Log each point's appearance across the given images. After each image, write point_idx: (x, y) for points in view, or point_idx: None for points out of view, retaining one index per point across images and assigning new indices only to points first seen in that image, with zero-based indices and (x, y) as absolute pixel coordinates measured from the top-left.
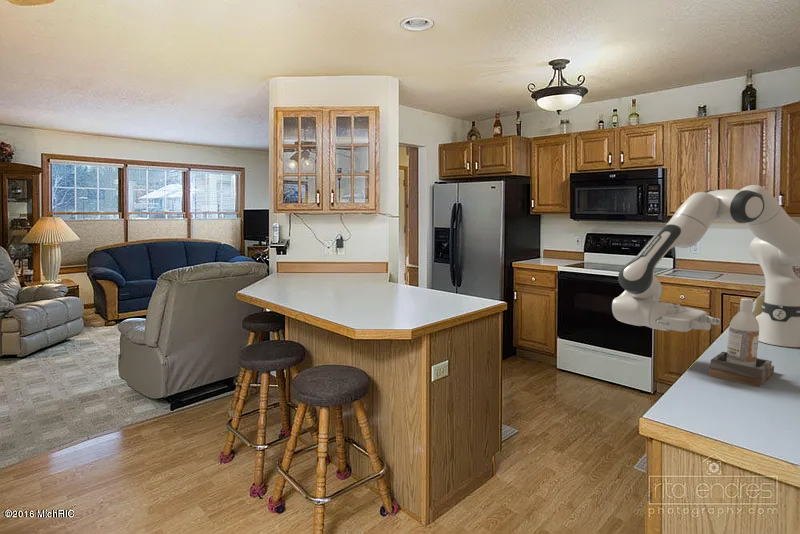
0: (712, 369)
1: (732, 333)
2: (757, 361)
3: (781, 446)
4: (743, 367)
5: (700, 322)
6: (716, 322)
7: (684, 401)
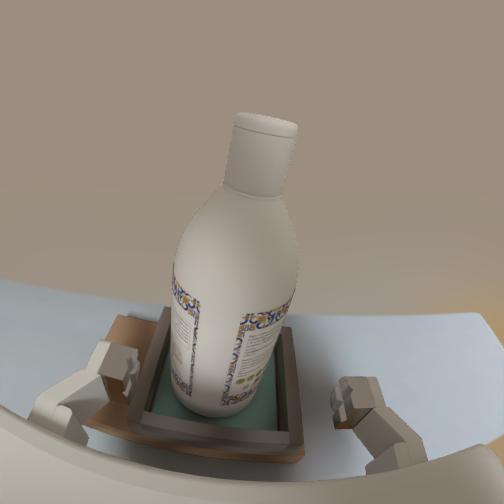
0: (303, 446)
1: (278, 323)
2: (167, 337)
3: (467, 319)
4: (294, 363)
5: (386, 421)
6: (131, 372)
7: (483, 418)
